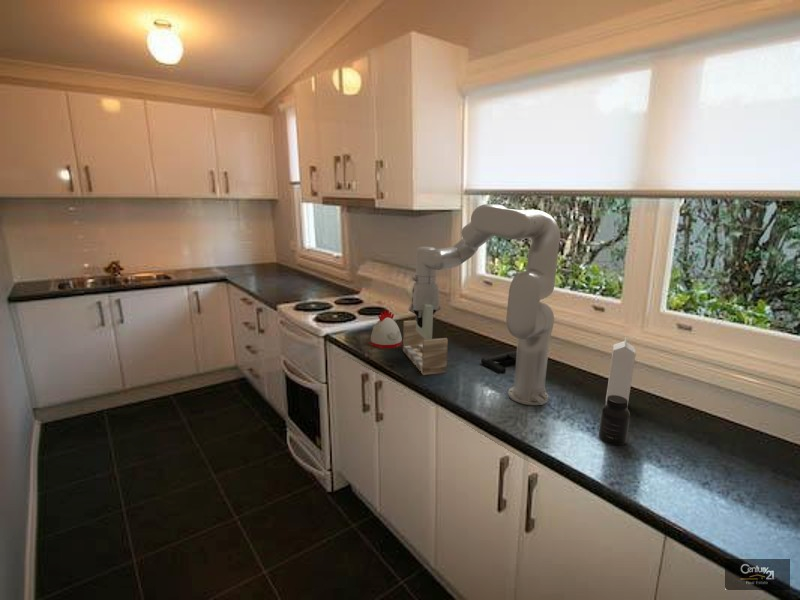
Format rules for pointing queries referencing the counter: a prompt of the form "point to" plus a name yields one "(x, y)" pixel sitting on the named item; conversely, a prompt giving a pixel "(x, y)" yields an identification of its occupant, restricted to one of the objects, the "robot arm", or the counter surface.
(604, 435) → the supplement bottle
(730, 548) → the counter surface
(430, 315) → the door panel
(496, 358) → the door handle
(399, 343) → the kitchen timer
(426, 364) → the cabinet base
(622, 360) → the milk
